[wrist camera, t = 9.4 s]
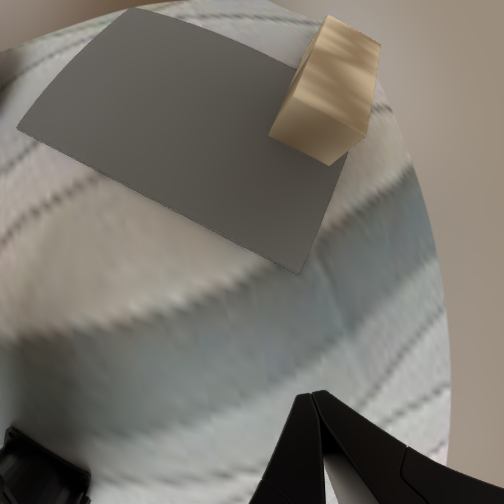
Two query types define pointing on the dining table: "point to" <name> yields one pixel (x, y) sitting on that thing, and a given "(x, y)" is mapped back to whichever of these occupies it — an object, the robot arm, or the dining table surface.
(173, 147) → the charcoal rubber mat
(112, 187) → the dining table surface
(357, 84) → the birch block
